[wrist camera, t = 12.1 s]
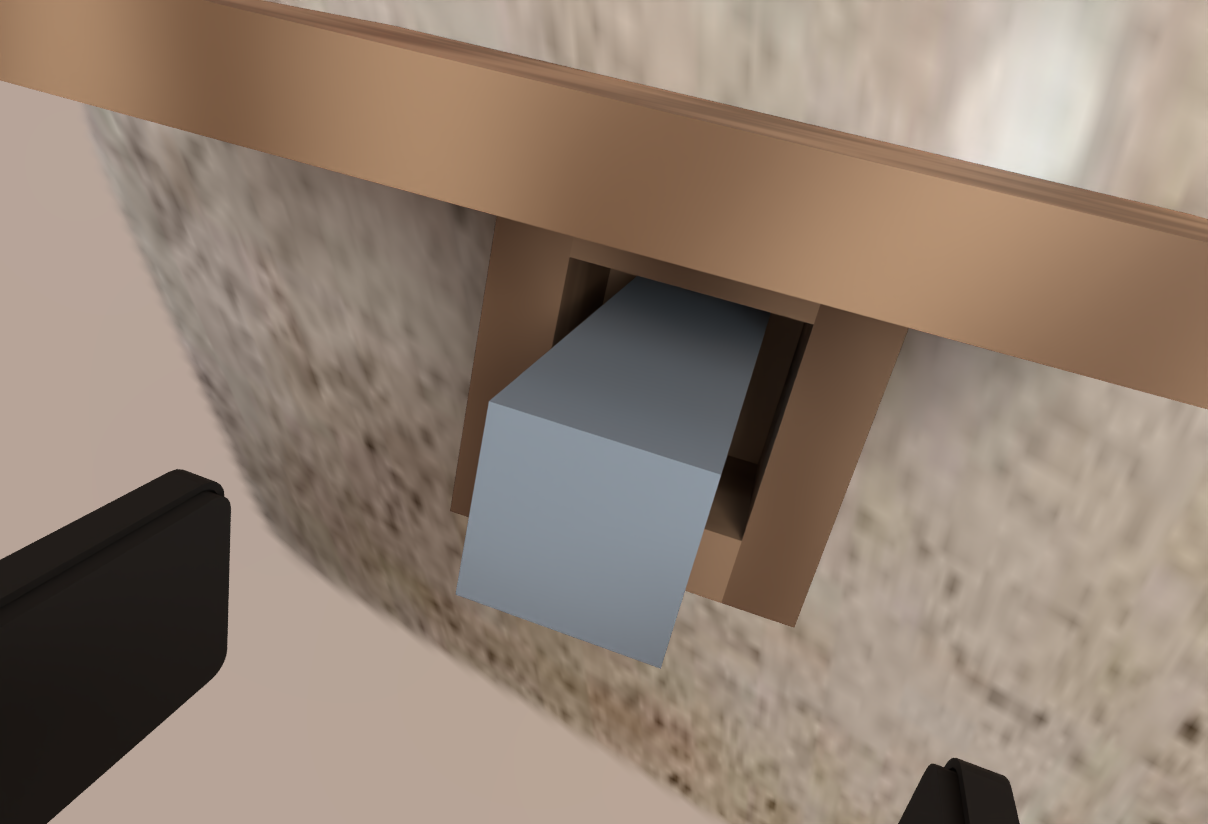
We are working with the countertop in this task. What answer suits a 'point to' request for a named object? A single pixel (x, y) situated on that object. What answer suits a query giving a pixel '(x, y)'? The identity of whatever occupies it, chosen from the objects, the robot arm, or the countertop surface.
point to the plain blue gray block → (610, 467)
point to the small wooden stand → (668, 231)
